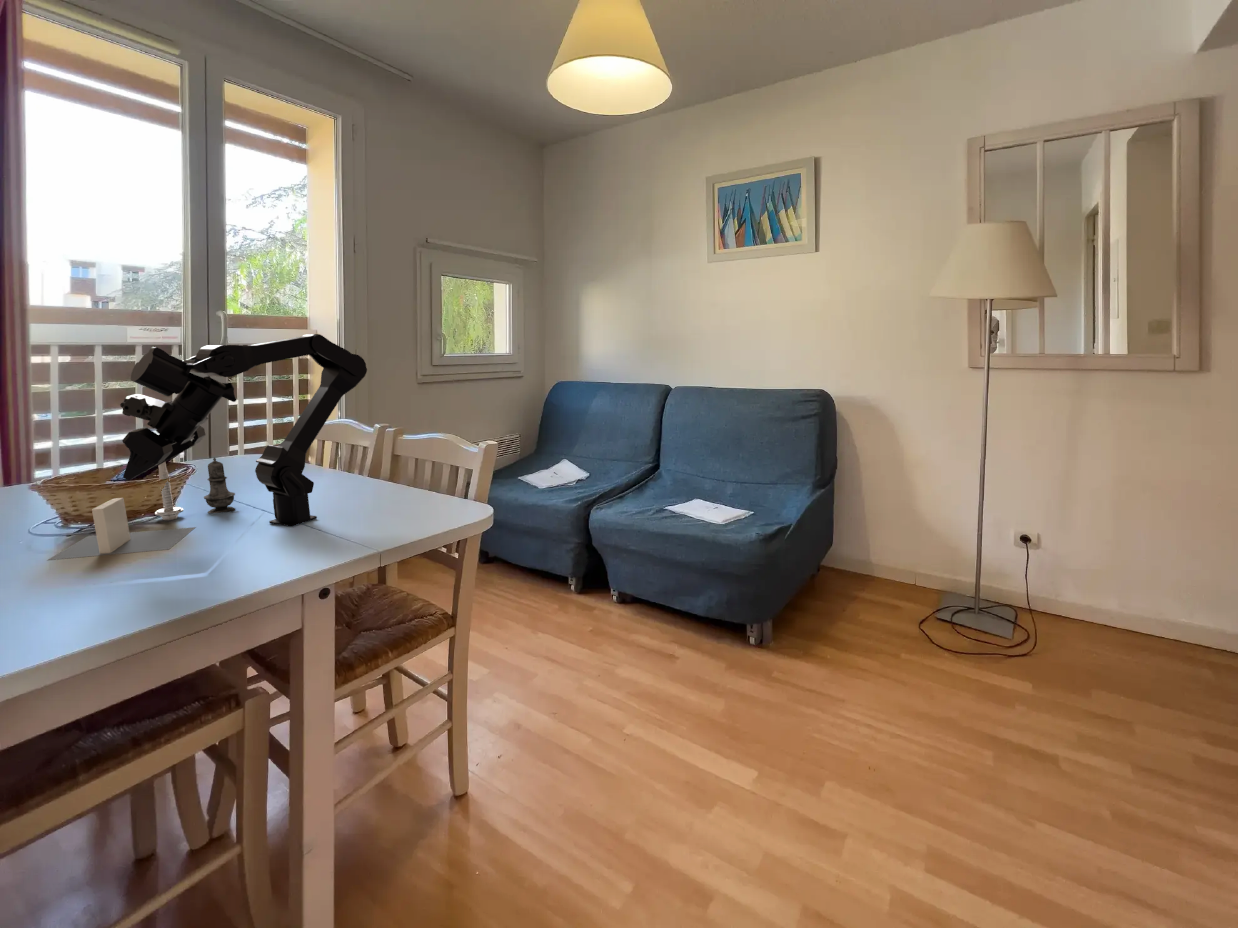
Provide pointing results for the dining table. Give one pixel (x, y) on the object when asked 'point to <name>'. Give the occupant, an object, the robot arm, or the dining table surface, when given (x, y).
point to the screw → (167, 498)
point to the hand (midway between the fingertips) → (139, 472)
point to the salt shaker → (218, 489)
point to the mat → (127, 543)
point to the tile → (111, 525)
